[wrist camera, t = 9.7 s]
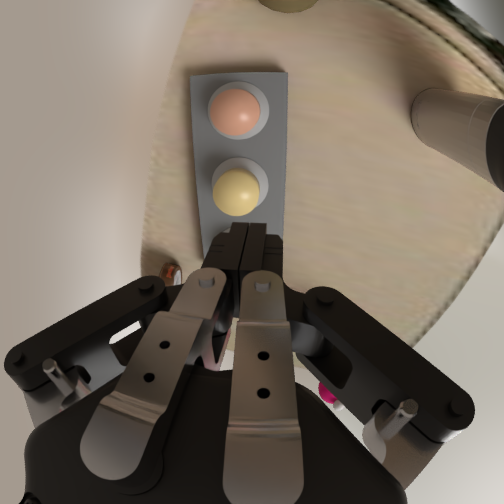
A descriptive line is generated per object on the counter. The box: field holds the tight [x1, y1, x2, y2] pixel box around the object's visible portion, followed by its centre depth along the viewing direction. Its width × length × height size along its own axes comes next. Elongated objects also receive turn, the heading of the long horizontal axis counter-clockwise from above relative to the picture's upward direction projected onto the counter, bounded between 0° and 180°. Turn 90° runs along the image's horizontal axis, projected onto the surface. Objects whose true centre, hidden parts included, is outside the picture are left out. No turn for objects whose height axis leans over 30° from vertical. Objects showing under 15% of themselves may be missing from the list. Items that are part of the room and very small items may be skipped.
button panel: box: [190, 72, 288, 259], centre depth 38 cm, size 12×30×3 cm, turn 0°
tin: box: [159, 263, 182, 286], centre depth 48 cm, size 15×3×8 cm, turn 170°
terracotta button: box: [210, 89, 261, 136], centre depth 30 cm, size 6×6×2 cm
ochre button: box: [213, 168, 260, 216], centre depth 34 cm, size 6×6×2 cm
